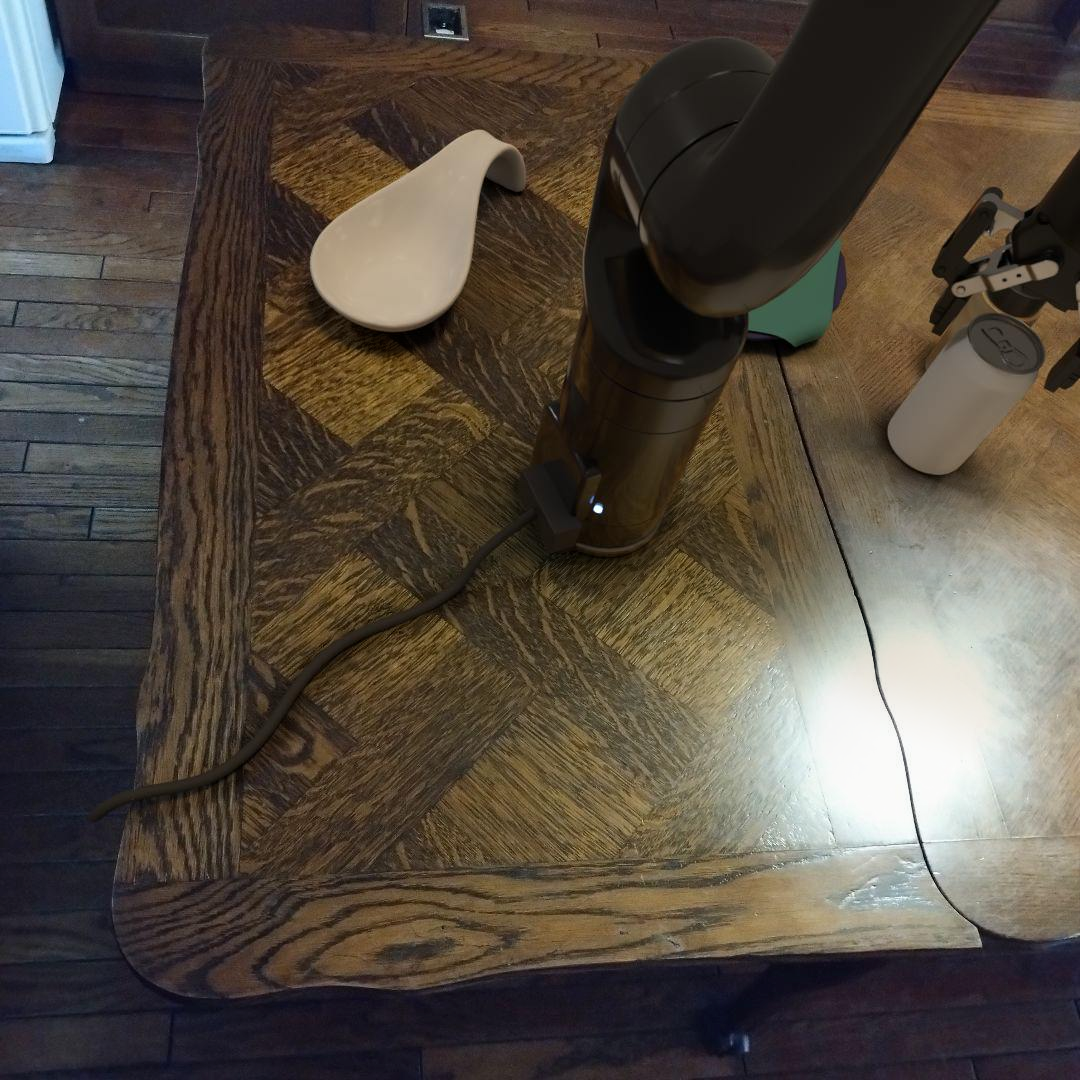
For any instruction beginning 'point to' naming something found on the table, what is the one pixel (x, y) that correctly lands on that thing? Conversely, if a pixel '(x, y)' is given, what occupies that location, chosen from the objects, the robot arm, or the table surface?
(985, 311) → the pepper mill
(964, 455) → the can
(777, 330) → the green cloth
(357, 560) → the table surface
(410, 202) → the spoon rest
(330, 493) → the table surface
